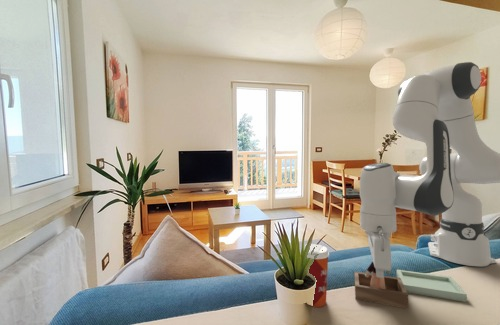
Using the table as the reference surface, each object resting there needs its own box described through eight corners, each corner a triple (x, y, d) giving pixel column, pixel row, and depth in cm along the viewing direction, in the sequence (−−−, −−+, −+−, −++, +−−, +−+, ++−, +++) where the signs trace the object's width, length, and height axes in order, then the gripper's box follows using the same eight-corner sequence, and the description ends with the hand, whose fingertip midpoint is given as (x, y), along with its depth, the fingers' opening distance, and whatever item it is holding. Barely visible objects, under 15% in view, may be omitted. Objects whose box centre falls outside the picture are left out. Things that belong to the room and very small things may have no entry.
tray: (396, 275, 76) (396, 269, 76) (451, 283, 71) (451, 276, 71) (403, 291, 67) (403, 284, 67) (466, 302, 62) (466, 294, 62)
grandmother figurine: (375, 302, 62) (374, 254, 62) (362, 294, 66) (362, 248, 66) (394, 294, 66) (394, 248, 65) (382, 287, 69) (381, 244, 69)
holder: (354, 283, 72) (354, 271, 72) (400, 290, 68) (400, 278, 68) (355, 299, 64) (355, 286, 64) (408, 308, 59) (408, 294, 59)
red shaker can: (332, 311, 59) (331, 254, 59) (300, 308, 60) (299, 252, 60) (328, 294, 67) (327, 243, 67) (300, 291, 68) (299, 242, 68)
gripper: (398, 234, 55) (399, 294, 55) (385, 215, 74) (386, 259, 74) (367, 231, 57) (368, 289, 57) (362, 213, 76) (363, 257, 76)
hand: (378, 272), depth 66 cm, fingers closed on grandmother figurine, 3 cm apart
